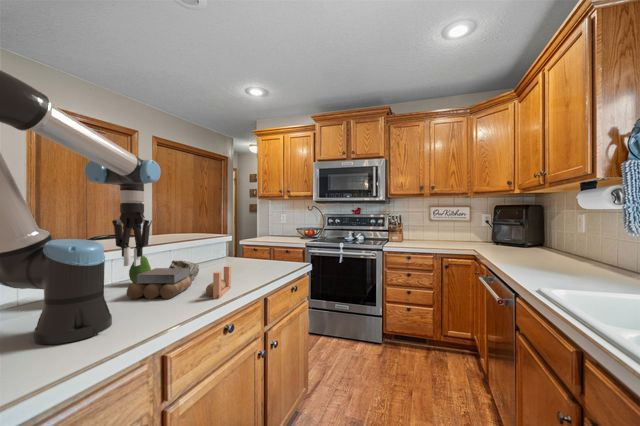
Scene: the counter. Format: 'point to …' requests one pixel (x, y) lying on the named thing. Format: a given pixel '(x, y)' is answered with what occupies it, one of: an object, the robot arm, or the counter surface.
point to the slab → (163, 275)
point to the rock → (184, 264)
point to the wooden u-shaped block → (217, 282)
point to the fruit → (139, 269)
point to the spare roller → (210, 288)
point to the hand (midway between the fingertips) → (132, 265)
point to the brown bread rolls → (158, 289)
